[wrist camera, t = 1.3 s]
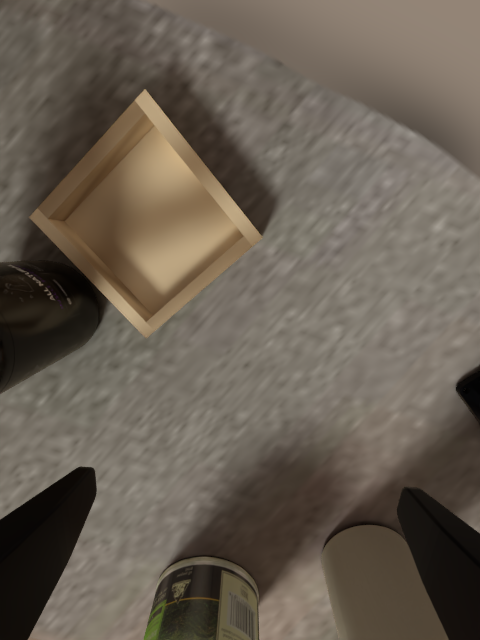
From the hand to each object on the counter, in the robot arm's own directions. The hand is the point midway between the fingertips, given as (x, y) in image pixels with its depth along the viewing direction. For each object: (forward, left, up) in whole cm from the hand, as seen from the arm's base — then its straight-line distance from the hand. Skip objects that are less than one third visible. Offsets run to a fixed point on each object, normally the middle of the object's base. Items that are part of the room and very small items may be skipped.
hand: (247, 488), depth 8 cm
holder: (+10, 0, -13) cm, 17 cm away
